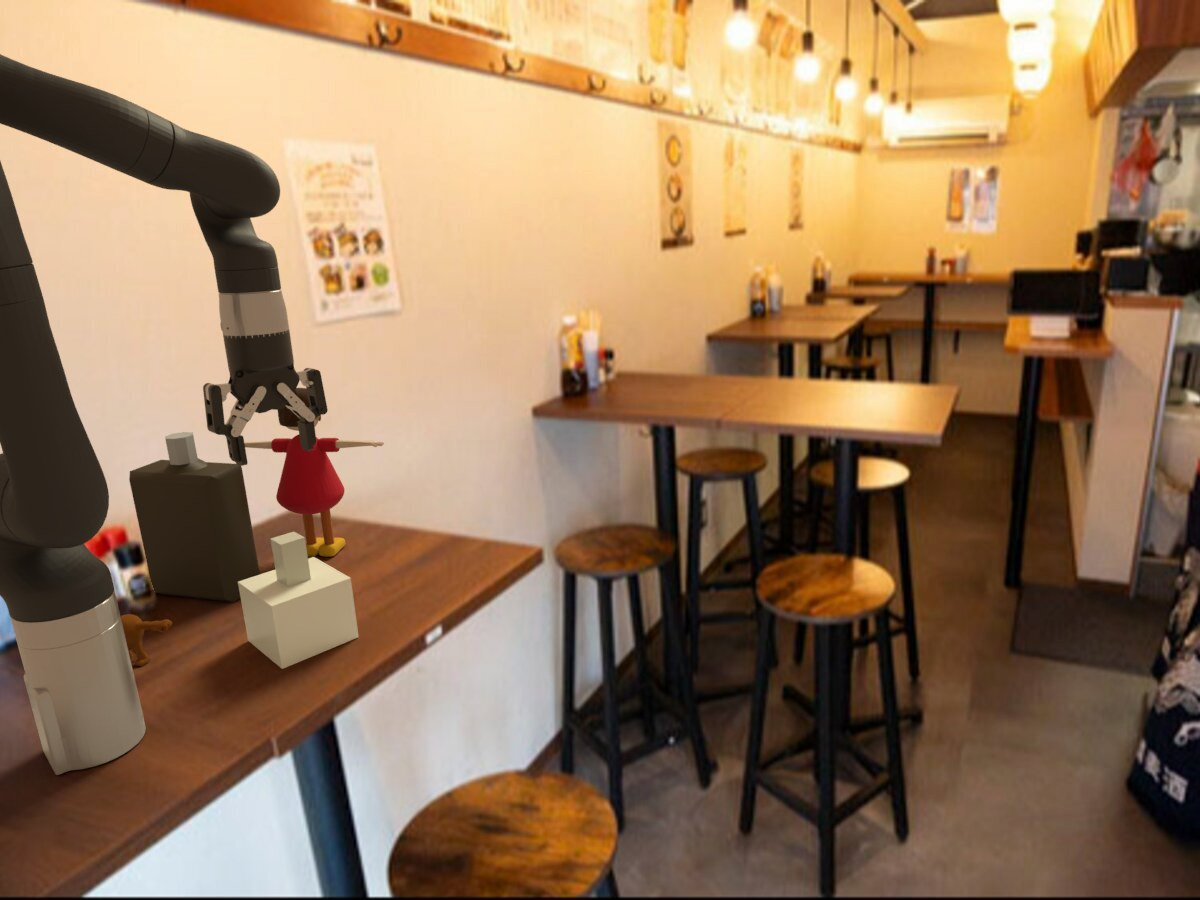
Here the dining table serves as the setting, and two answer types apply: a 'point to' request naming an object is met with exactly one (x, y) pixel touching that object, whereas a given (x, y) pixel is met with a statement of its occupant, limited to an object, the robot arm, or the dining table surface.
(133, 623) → the toy figurine
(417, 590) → the dining table surface
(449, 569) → the dining table surface
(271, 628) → the cover
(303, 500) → the toy
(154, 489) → the bottle
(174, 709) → the dining table surface
